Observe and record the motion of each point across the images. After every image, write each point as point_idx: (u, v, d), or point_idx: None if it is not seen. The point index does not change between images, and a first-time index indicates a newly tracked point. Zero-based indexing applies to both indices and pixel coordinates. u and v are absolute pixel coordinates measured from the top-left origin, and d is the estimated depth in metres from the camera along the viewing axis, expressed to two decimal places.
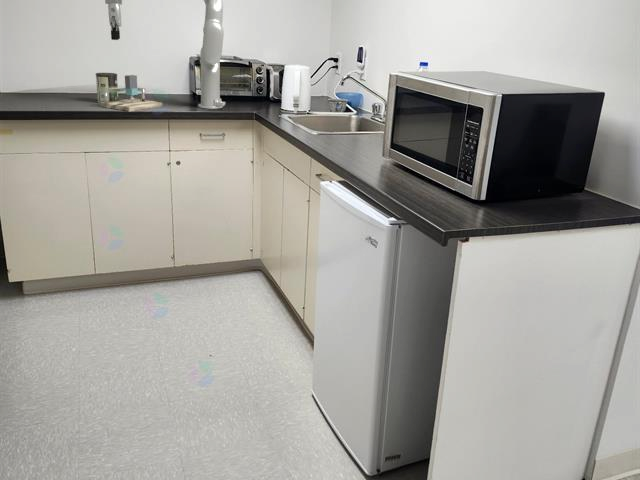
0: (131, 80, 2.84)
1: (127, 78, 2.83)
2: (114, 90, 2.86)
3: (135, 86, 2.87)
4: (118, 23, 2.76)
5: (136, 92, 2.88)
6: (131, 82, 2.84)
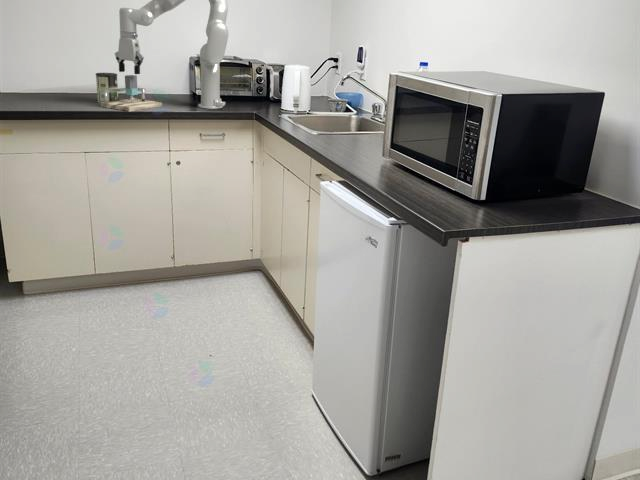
0: (131, 80, 2.84)
1: (127, 78, 2.83)
2: (114, 90, 2.86)
3: (135, 86, 2.87)
4: None
5: (136, 92, 2.88)
6: (131, 82, 2.84)
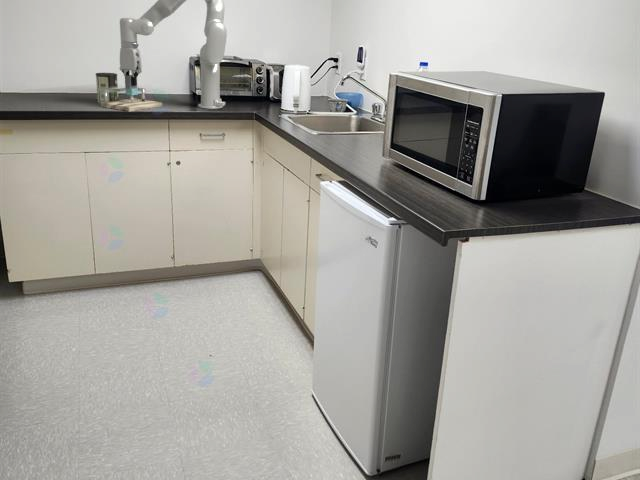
0: None
1: (127, 78, 2.83)
2: (114, 90, 2.86)
3: (135, 86, 2.87)
4: (141, 67, 2.83)
5: (136, 92, 2.88)
6: None
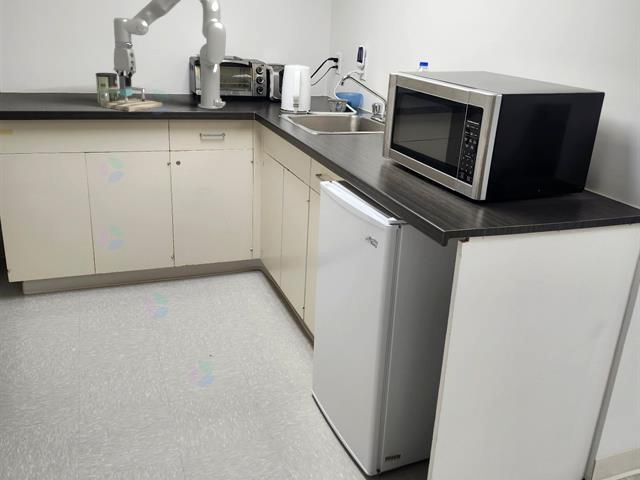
0: None
1: (121, 78, 2.80)
2: (114, 90, 2.86)
3: (129, 87, 2.84)
4: (135, 67, 2.80)
5: (130, 93, 2.85)
6: (125, 82, 2.81)
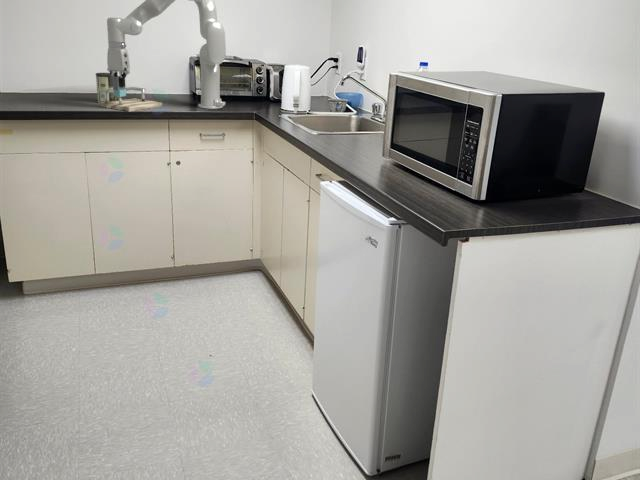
0: None
1: (115, 79, 2.77)
2: None
3: (123, 87, 2.81)
4: (129, 68, 2.77)
5: (124, 93, 2.81)
6: None
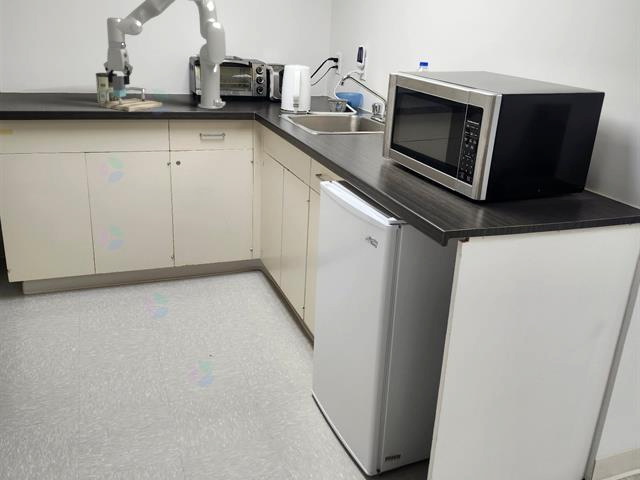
0: (119, 81, 2.77)
1: (115, 79, 2.77)
2: None
3: (123, 87, 2.81)
4: (129, 68, 2.77)
5: (124, 93, 2.81)
6: (119, 83, 2.78)
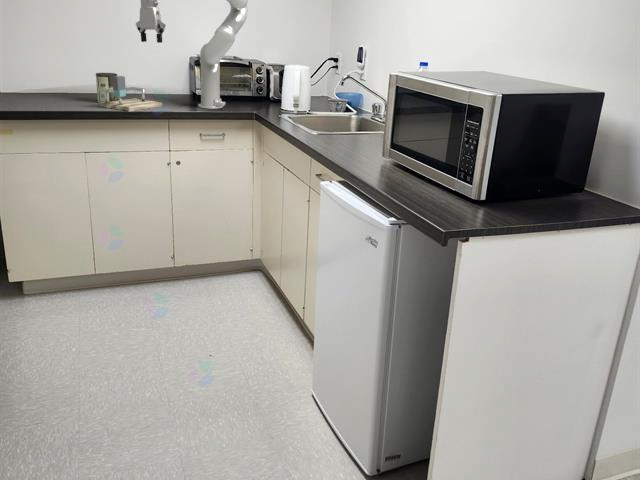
0: (119, 81, 2.77)
1: (115, 79, 2.77)
2: None
3: (123, 87, 2.81)
4: (161, 26, 2.83)
5: (124, 93, 2.81)
6: (119, 83, 2.78)
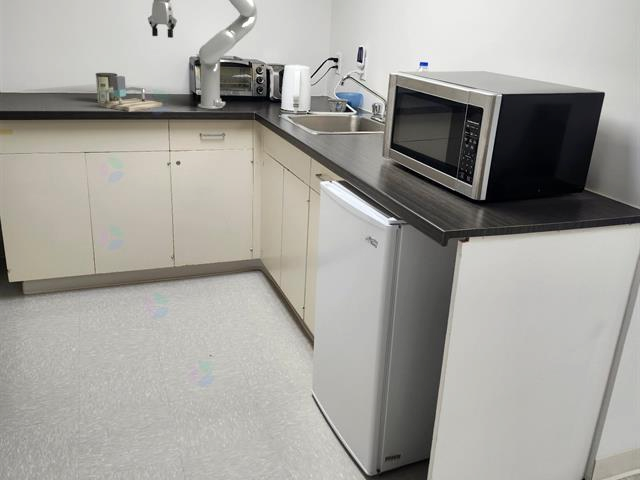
0: (119, 81, 2.77)
1: (115, 79, 2.77)
2: None
3: (123, 87, 2.81)
4: (172, 21, 2.88)
5: (124, 93, 2.81)
6: (119, 83, 2.78)
